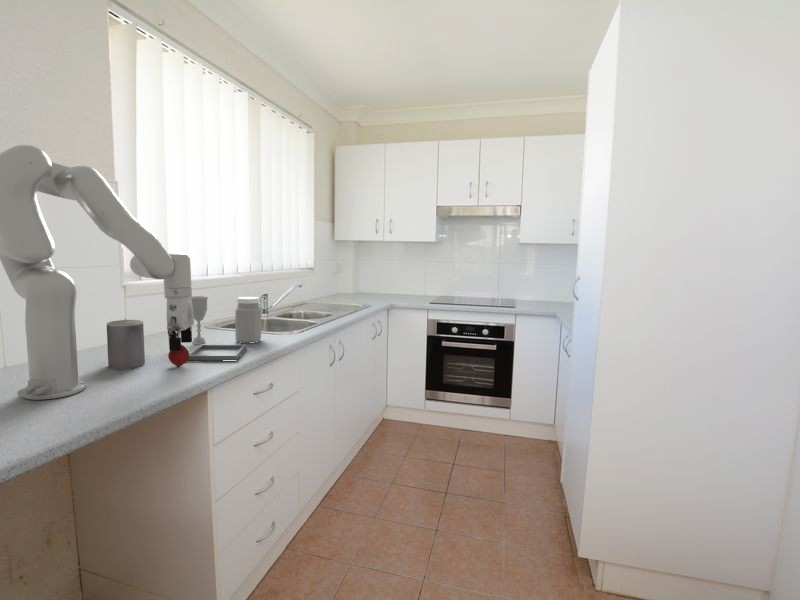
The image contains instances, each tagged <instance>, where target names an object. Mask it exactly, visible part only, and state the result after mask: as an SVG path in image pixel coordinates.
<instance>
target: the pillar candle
mask: <svg viewBox="0 0 800 600" xmlns="http://www.w3.org/2000/svg"><path fill="white" fill-rule="evenodd" d="M144 329H145V328H144V321H142V320H140V319H126V317H125V318H124V319H120V320H114V321H113V320H112V321H109V322H107V323H106V343H107V365H108V368H109V369H111V368H112V369H111V370H128V369H130V368H131V369H134V368H137V367H141V366H143V365H145V363H146V360H145V359H146V358H145V357H146V355H145V334H144V333H145V331H144Z"/></svg>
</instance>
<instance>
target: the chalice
mask: <svg viewBox="0 0 800 600" xmlns="http://www.w3.org/2000/svg"><path fill="white" fill-rule="evenodd" d="M208 299H209V296H205V295H204V296H203V295H202V296H201V295H200V296H199V295H197V296H195V295H194V296H193V295H192V297H191V300H192V307H193V316H194V321H196V322H197V325H196V327H197V329H196V332H197V335H196V336H195V337H194V338H193V339H192V342H191V343H192V345H201V344H203V343H204V344H206V343H207V341H206V339H205V337H204V336H202V335H201V332H202V329H201V327H202V325H201V321H203V320H204V318H205V317H206V314H207V311H208Z"/></svg>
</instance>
